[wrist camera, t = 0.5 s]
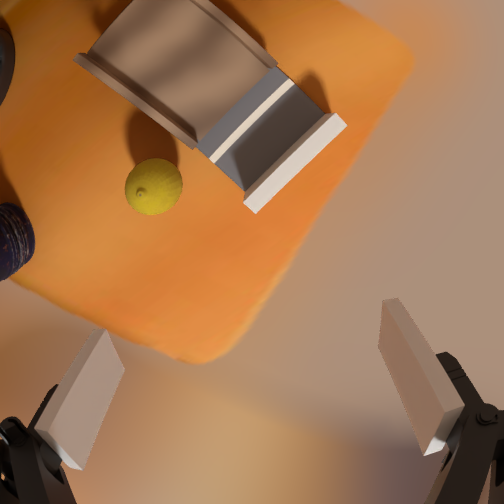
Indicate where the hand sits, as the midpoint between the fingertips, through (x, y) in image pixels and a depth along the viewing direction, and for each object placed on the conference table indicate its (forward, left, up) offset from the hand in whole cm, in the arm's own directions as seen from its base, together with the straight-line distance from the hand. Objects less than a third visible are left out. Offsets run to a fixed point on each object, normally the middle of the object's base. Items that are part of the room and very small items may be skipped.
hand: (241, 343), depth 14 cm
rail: (-1, +7, -23) cm, 24 cm away
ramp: (-16, +7, -23) cm, 29 cm away
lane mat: (-5, +7, -23) cm, 24 cm away
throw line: (-7, +7, -23) cm, 25 cm away
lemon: (-9, -4, -23) cm, 25 cm away
